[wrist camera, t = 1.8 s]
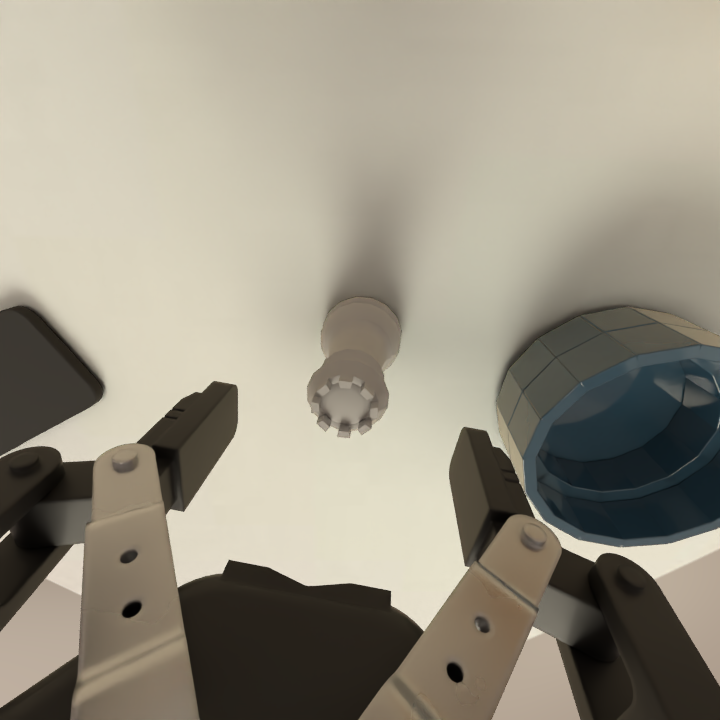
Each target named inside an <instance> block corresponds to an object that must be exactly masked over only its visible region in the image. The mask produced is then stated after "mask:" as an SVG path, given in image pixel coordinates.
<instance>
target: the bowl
mask: <svg viewBox="0 0 720 720" xmlns="http://www.w3.org/2000/svg"><path fill="white" fill-rule="evenodd" d="M496 402H497V403H496V406H497V416H498V426H499V433H500V436H501V438H502V440H503V443H504V445H505V447H506V450H507V452H508V454H509V457H510V459H511V461H512V464H513V466H514V469H515V471H516V473H517V476H518V478H519V480H520V483H521V485H522V487H523V490H524V492H525V494H526V496H527V497H528V498H529V500H530V501H531V503H532V504H533V505H534V507H535V508H536V510H537V511H538V512H539V514H540V515H541V517H542V518H543V520H545V521H546V522H547V523H549V524H551V525H553V526H554V527H556V528H558V529H560V530H562V531H563V532H565V533H567V534H569V535H571V536H572V537H574V538H576V539H579V540H582V541H588V542H593V543H599V544H604V545H610V546H615V547H632V546H646V545H659V544H668V543H673V542H676V541H680V540H683V539H686V538H689V537H692V536H696V535H699V534H702V533H705V532H708V531H712V530H715V529H717V528H720V336H719V335H716V334H714V333H712V332H710V331H708V330H706V329H704V328H701V327H699V326H697V325H695V324H693V323H690V322H688V321H686V320H684V319H682V318H679V317H677V316H675V315H673V314H669V313H664V312H658V311H652V310H646V309H640V308H635V307H622V308H617V309H611V310H606V311H601V312H595V313H590V314H585V315H580V316H577V317H576V318H574V319H572V320H570V321H568V322H566V323H565V324H563V325H561V326H559V327H557V328H555V329H554V330H552V331H550V332H548V333H546V334H544V335H542V336H541V337H539V339H536V340H535V341H534V342H533V343H532V344H531V346H530V347H529V348H528V349H527V350H526V351H525V352H524V353H523V354H522V355H521V356H520V357H519V359H518V360H517V361H516V362H515V363H514V364H513V365H512V366H511V367H510V369H508V372H507V375H506V377H505V380H504V383H503V385H502V388H501V390H500V393H499V396H498V398H497V401H496Z"/></svg>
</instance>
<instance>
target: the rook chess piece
mask: <svg viewBox="0 0 720 720" xmlns="http://www.w3.org/2000/svg"><path fill="white" fill-rule="evenodd" d="M401 332H402V331H401V328H400V325H399V322H398V319H397V317H396V315H395V314H394V313H393V312H392V311H391V310H390V309H389V307H388V306H387V305H385V304H383V303H381V302H379V301H377V300H375V299H373V298H365V297H353V298H350V299H347V300H344V301H341V302H340V303H338V304H337V305H336V306H335V307H334V308H333V309H332V310H330V311H329V313H328V315H327V317H326V319H325V322H324V324H323V328H322V330H321V347H322V350H323V352H324V355H325V357H326V360H325V361H324V363H323V365H322V367H321V368H320V369H318V370H317V371H316V372H315V373H313V375H312V377H311V379H310V381H309V384H308V386H307V400H308V402H309V404H310V407H311V412H312V413H314V414H315V415H316V416H317V417H318V420H317V424H318V425H319V426H320V427H321V428H322V429H323V430H324V431H325V432H326V431H327V429H328V428H329V427H330V426H332V427H334V428H336V429H339V431H338V435H337V437H344V438H350V434H351V431H355V430H358V431H359V432H360V433H361V435H363V434H364V433H366V432H367V431H369V430H370V429H371V427H372V424H374V423H375V422H377V421H378V420H380V419H381V417H382V416H383V414H384V412H385V411H386V409H387V407H388V398H389V392H388V390H387V387H386V384H385V382H384V374H383V371H385V370H386V369H387V368H389V367H390V366H391V365H392V363H393V361H394V360H395V358H396V356H397V354H398V353H399V347H400V341H401Z"/></svg>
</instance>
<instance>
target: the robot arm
mask: <svg viewBox="0 0 720 720" xmlns="http://www.w3.org/2000/svg"><path fill="white" fill-rule="evenodd" d="M237 423H238V389H237V386H236V385H233V384H228V383H222V382H217V381H214V382H212V383H211V384H210V385H209V386H208V387H207V388H206V389H205V390H204V391H203V392H202V393H198V392H195V393H193V394H191V395H189V396H187V397H185V398H183V399H181V400H180V401H179V402H178V403H177V404H176V405H175V406H174V407H173V409H172V410H170V411H169V412H168V413H167V414H166V415H165V417H163V418H162V419H161V420H160V421H159V422H157V423H156V424H155V425H154V426H153V427H152V428H151V429H150V430H149V431H148V432H147V433H146V434H145V435H144V436H143V437H142V438H141V439H140V440H139V441H138V442H137V443H132V444H124V445H120V446H117V447H114V448H112V449H110V450H108V451H106V452H104V453H103V454H102V455H101V456H99V457H98V458H97V460H96V461H81V462H62V458H61V454H60V452H59V451H58V450H56V449H54V448H51V447H45V446H39V447H30V448H25V449H22V450H18V451H15V452H13V453H10V454H8V455H6V456H4V457H2V458H1V459H0V538H1V537H2V536H3V535H4V534H5V533H6V532H7V531H9V530H10V532H11V533H10V534H9V535H8V536H7V537H6V538H5V539H4V540H3V541H2V542H1V543H0V631H1V630H2V629H3V628H4V627H5V626H6V624H7V623H8V622H9V621H10V620H11V618H12V617H13V616H14V615H15V614H16V612H17V611H18V610H19V609H20V608H21V606H22V605H23V604H24V603H25V602H26V601H27V599H28V598H29V597H30V596H31V595H32V593H33V592H34V591H35V590H36V589H37V587H38V586H39V585H40V584H41V583H42V582H43V580H44V579H45V578H46V577H47V576H48V574H49V573H50V572H51V571H52V570H53V568H54V567H55V566H56V565H57V564H58V562H59V561H60V560H61V559H62V558H63V557H64V555H65V554H66V553H67V552H68V551H69V549H70V548H71V547H72V546H73V545H74V544H80V543H84V561H83V580H82V601H81V621H80V639H79V655H77V656H76V657H75V658H73V659H72V660H70V661H69V662H67V663H66V664H64V665H63V666H61V667H60V668H58V669H57V670H55V671H54V672H52V673H51V674H49V676H47V677H45V678H44V679H42V680H41V681H39V682H38V683H36V684H35V685H33V686H32V687H30V688H29V689H28V690H26V691H25V692H23V693H22V694H20V695H19V696H17V697H16V698H14V699H13V700H11V701H10V702H9V703H7V704H6V705H4V706H3V707H1V708H0V720H491V719H492V717H493V715H494V712H495V710H496V708H497V706H498V703H499V701H500V699H501V696H502V694H503V692H504V690H505V687H506V685H507V683H508V680H509V678H510V676H511V674H512V671H513V669H514V667H515V664H516V662H517V660H518V657H519V655H520V653H521V651H522V649H523V646H524V644H525V642H526V639H527V637H528V635H529V633H530V630H531V628H532V626H533V627H535V628H537V629H539V630H541V631H543V632H545V633H547V634H549V635H551V636H552V637H554V638H556V640H557V644H558V647H559V650H560V653H561V657H562V660H563V663H564V667H565V670H566V673H567V676H568V680H569V683H570V686H571V690H572V693H573V696H574V700H575V703H576V706H577V709H578V713H579V716H580V719H581V720H720V686H719V685H718V683H717V681H716V680H715V678H714V676H713V675H712V673H711V671H710V670H709V668H708V666H707V665H706V663H705V661H704V660H703V658H702V657H701V655H700V653H699V652H698V650H697V648H696V647H695V645H694V643H693V642H692V640H691V638H690V637H689V635H688V633H687V632H686V630H685V629H684V627H683V625H682V624H681V622H680V620H679V619H678V617H677V615H676V614H675V612H674V611H673V609H672V607H671V605H670V604H669V602H668V601H667V599H666V597H665V596H664V594H663V593H662V591H661V589H660V587H659V586H658V585H657V583H656V582H655V580H654V579H653V578H652V577H651V576H650V575H649V574H648V573H647V572H646V571H645V570H644V569H643V568H641V567H640V566H639V565H637V564H636V563H634V562H633V561H631V560H629V559H627V558H625V557H623V556H620V555H617V554H613V553H605V554H602V555H600V556H599V558H598V559H597V560H596V562H595V563H594V562H592V561H590V560H588V559H585V558H583V557H581V556H579V555H576V554H574V553H572V552H570V551H568V550H566V549H564V548H562V547H561V544H560V542H559V540H558V538H557V536H556V535H555V534H554V533H553V531H552V530H551V529H550V528H548V527H547V526H546V525H545V524H543V523H542V522H540V521H539V520H537V519H535V517H534V514H533V512H532V510H531V507H530V505H529V503H528V500H527V498H526V495H525V493H524V491H523V488H522V486H521V484H519V482H520V481H519V479H518V476H517V474H515V469H514V467H513V465H512V462H511V460H510V459H509V458H508V456H507V455H506V454H505V453H504V452H503V451H502V450H501V449H500V448H496V447H493V446H492V444H491V441H490V438H489V436H488V433H487V431H484V430H478V429H473V428H467V427H464V428H463V429H462V430H461V433H460V436H459V439H458V442H457V445H456V448H455V451H454V453H453V456H452V459H451V463H450V469H449V479H450V485H451V491H452V496H453V502H454V507H455V513H456V518H457V524H458V530H459V535H460V541H461V546H462V552H463V557H464V563H465V566H468V567H470V568H469V569H468V571H467V572H466V574H465V575H464V576H463V578H462V579H461V581H460V582H459V583H458V585H457V586H456V588H455V589H454V590H453V592H452V593H451V595H450V596H449V597H448V599H447V600H446V602H445V603H444V605H443V606H442V607H441V609H440V610H439V612H438V613H437V614H436V616H435V617H434V619H433V620H432V621H431V623H430V624H429V626H428V627H427V628H426V630H425V631H423V630H422V629H421V628H420V627H419V626H418V625H417V624H416V623H415V622H414V621H413V620H412V619H411V618H409V617H408V616H407V615H406V614H404V613H403V612H401V611H399V610H398V609H396V608H394V607H392V606H391V591H388V590H383V589H378V588H373V587H367V586H362V585H357V584H352V583H349V584H335V585H322V586H305V585H303V584H301V583H299V582H297V581H295V580H293V579H291V578H288V577H286V576H284V575H282V574H280V573H278V572H276V571H274V570H272V569H270V568H268V567H263V566H258V565H252V564H247V563H242V562H237V561H232V560H229V561H228V563H227V565H226V567H225V570H224V572H223V574H215V575H210V576H205V577H202V578H199V579H195V580H193V581H191V582H188V583H186V584H184V585H182V586H180V587H178V588H177V582H176V576H175V569H174V563H173V557H172V551H171V545H170V539H169V533H168V527H167V520H166V514H167V513H168V511H169V510H170V509H173V510H178V511H183V512H184V511H185V509H186V508H187V506H188V505H189V503H190V502H191V500H192V499H193V497H194V496H195V494H196V493H197V491H198V490H199V488H200V487H201V485H202V484H203V482H204V481H205V479H206V478H207V476H208V475H209V473H210V472H211V470H212V469H213V467H214V466H215V464H216V463H217V461H218V460H219V458H220V457H221V455H222V454H223V452H224V451H225V449H226V448H227V446H228V445H229V443H230V442H231V440H232V439H233V437H234V435H235V432H236V429H237Z"/></svg>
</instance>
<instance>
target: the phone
mask: <svg viewBox="0 0 720 720" xmlns="http://www.w3.org/2000/svg"><path fill="white" fill-rule="evenodd" d="M102 396H103V390H102V387H101V385H100V384H99V382H98V381H97V380H96V379H95V378H94V376H93V375H92V374H91V373H90V372H89V371H88V370H87V369H86V368H85V367H84V365H83V364H82V363H81V362H80V361H79V360H78V359H77V358H76V357H75V356H74V355H73V353H72V352H71V351H70V350H69V349H68V348H67V347H66V346H65V345H64V344H63V342H62V341H61V340H60V339H59V338H58V337H57V336H56V335H55V334H54V333H53V332H52V330H51V329H50V328H49V327H48V326H47V325H46V324H45V323H44V322H43V321H42V320H41V319H40V318H39V317H38V316H37V315H36V314H35V313H34V312H33V311H31V310H29V309H27V308H25V307H21V306H16V307H12V308H9V309H6V310H3V311H1V312H0V456H1V455H3V454H5V453H6V452H8V451H10V450H11V449H14V448H16V447H18V446H20V445H21V444H23V443H24V442H26V441H28V440H30V439H31V438H33V437H35V436H37V435H39V434H41V433H43V432H45V431H46V430H48V429H50V428H52V427H54V426H56V425H58V424H60V423H61V422H63V421H65V420H67V419H69V418H71V417H73V416H74V415H76V414H78V413H80V412H82V411H84V410H86V409H87V408H89V407H91V406H92V405H94V404H95V403H97V402H98V401H99V400H100V399H101V398H102Z"/></svg>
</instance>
